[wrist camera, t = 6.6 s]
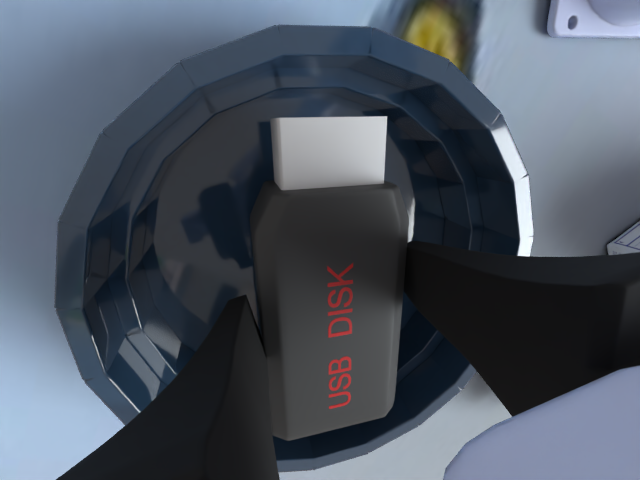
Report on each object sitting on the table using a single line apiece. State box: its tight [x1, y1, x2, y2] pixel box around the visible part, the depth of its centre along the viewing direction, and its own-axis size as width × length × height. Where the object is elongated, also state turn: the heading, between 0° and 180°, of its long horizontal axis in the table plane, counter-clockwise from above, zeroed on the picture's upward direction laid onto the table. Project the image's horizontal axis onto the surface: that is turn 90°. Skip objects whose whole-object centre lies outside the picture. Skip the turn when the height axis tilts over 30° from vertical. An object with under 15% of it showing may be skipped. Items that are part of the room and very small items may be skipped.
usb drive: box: [250, 116, 409, 441], centre depth 12 cm, size 5×12×3 cm, turn 2°
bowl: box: [54, 25, 534, 472], centre depth 13 cm, size 16×16×4 cm
